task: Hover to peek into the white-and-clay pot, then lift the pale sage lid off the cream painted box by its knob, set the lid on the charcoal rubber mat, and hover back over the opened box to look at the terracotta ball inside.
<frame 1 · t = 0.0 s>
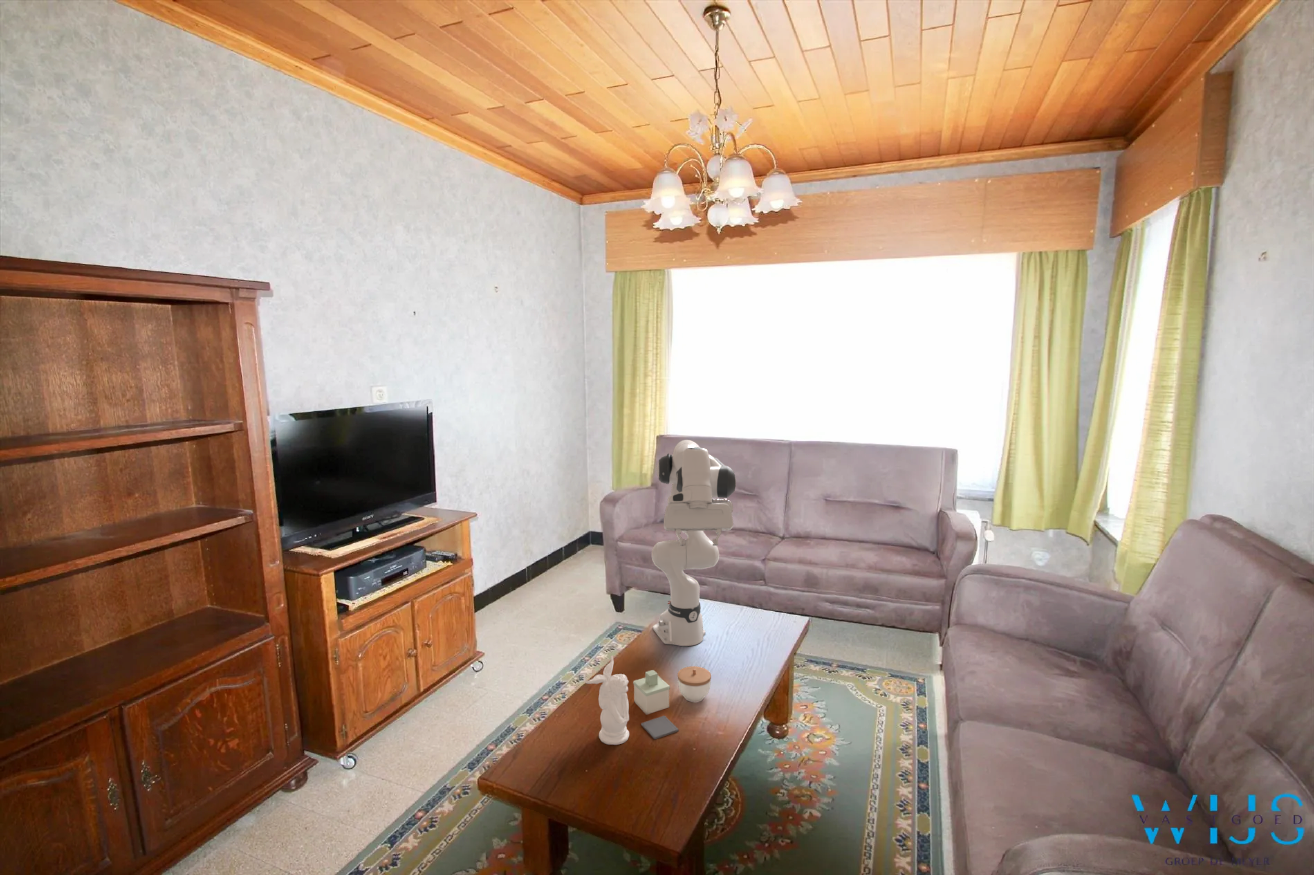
hand: (698, 545, 175), 54 cm above the table, tool tilted 30°, fingers open, 8 cm apart
lid: (651, 686, 191), point 6 cm above the table, touching cream box
cream box: (651, 704, 192), on the table
lidded jar: (694, 697, 196), on the table
cherub figurine: (607, 737, 175), on the table
mat: (659, 728, 179), on the table
ball: (651, 698, 191), point 2 cm above the table, touching cream box
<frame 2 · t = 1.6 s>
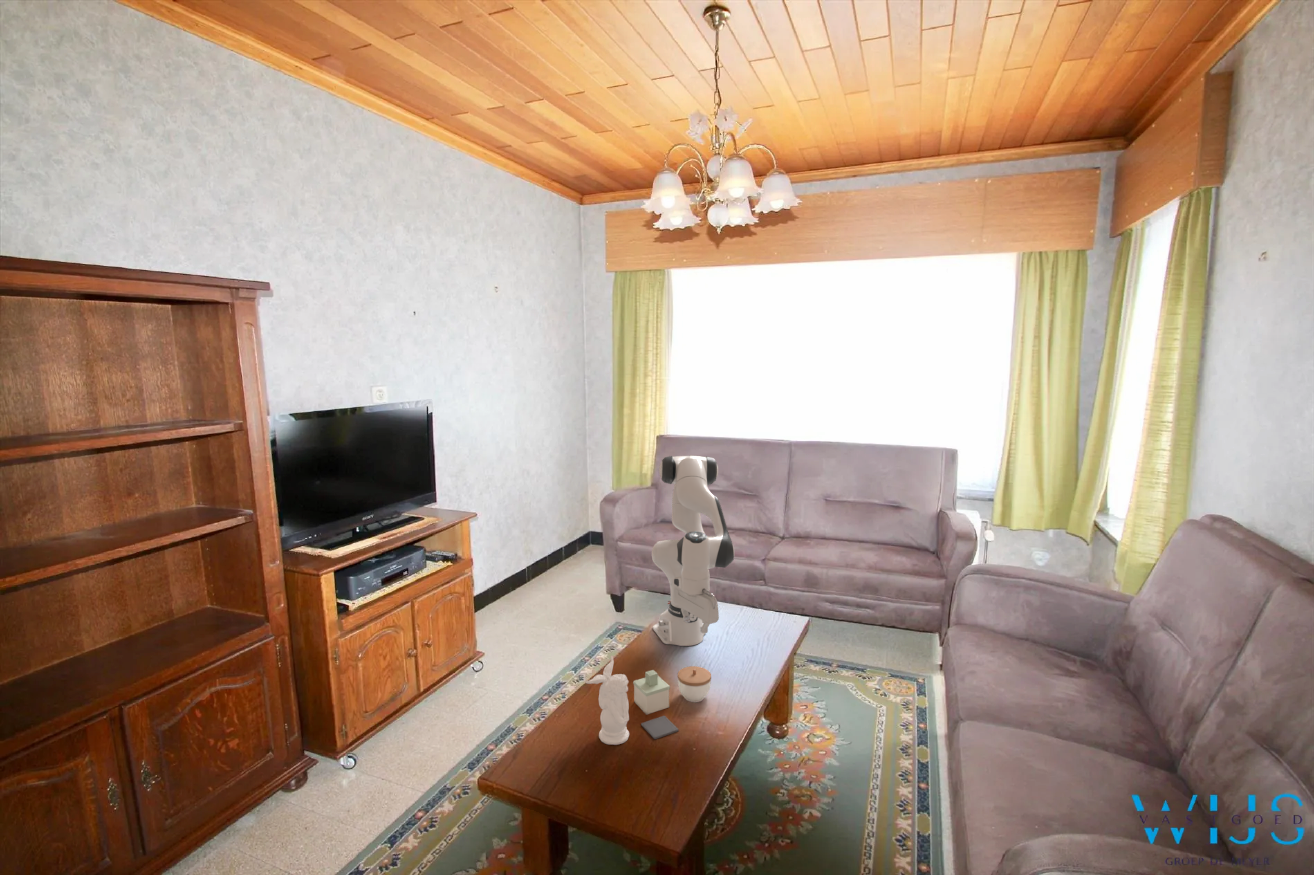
hand: (695, 627, 192), 24 cm above the table, tool pointing down, fingers open, 8 cm apart
nothing on the table moved.
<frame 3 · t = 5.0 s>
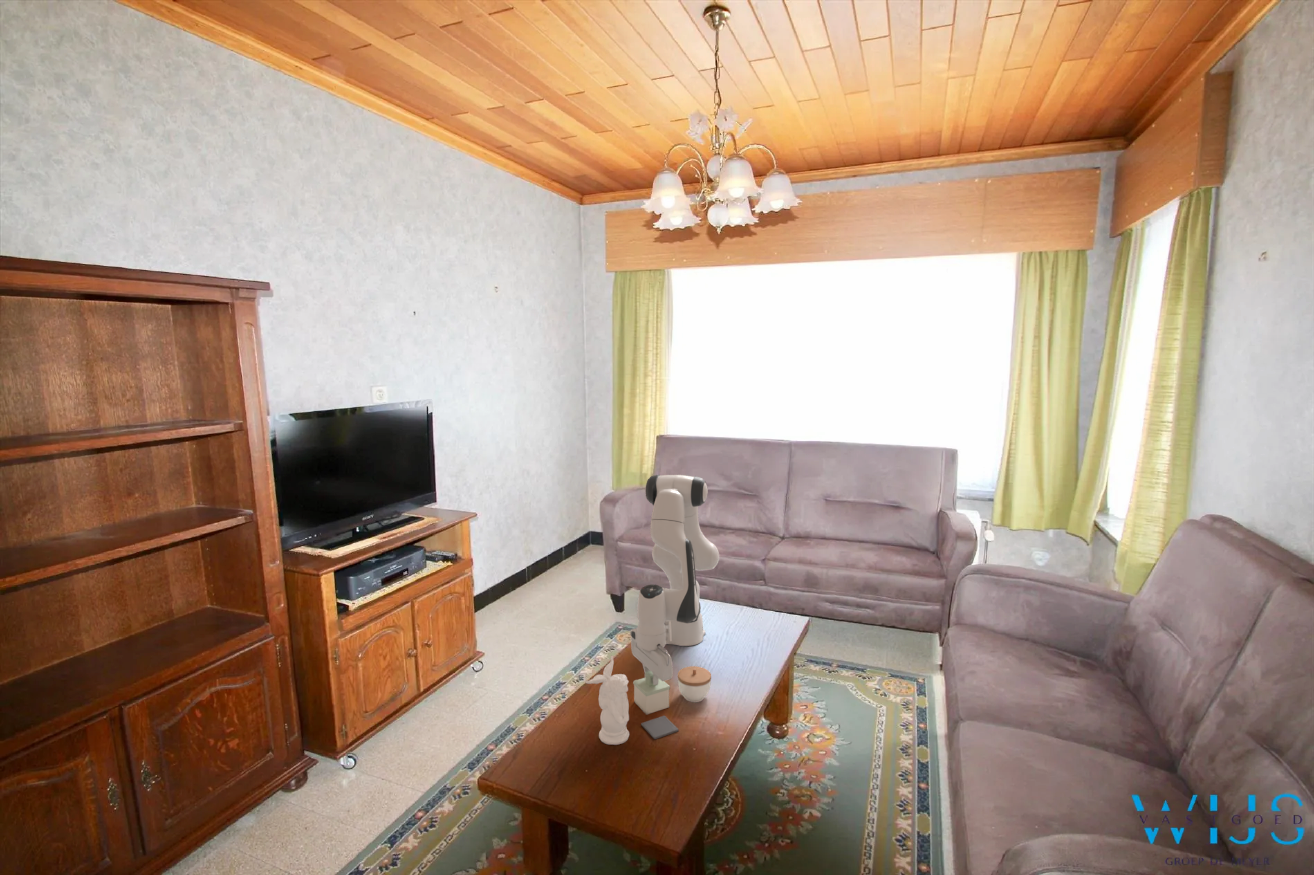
hand: (651, 680, 191), 8 cm above the table, tool pointing down, fingers closed on lid, 3 cm apart
lid: (651, 686, 191), point 6 cm above the table, touching cream box, gripper
everything else where it was.
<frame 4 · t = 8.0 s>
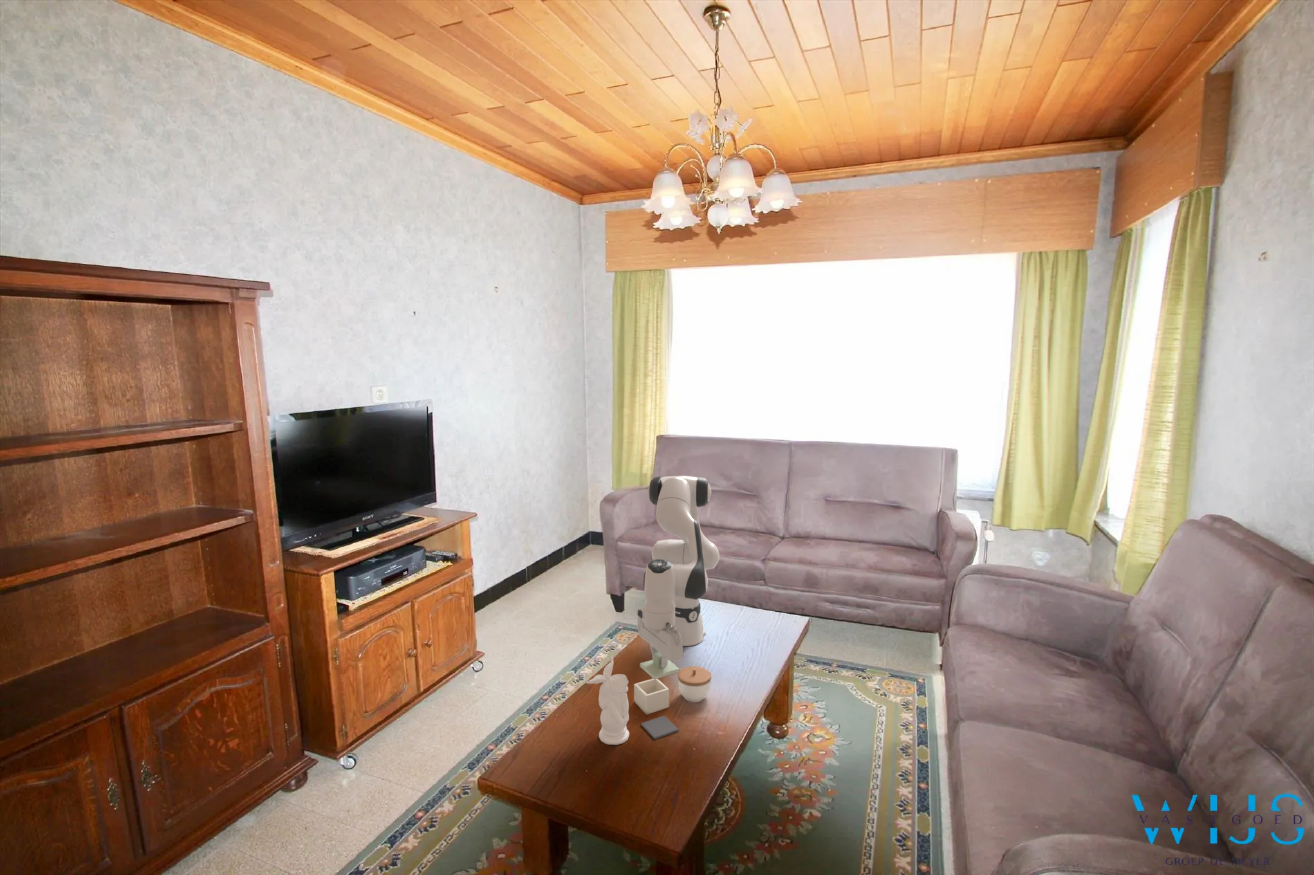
hand: (659, 663, 177), 20 cm above the table, tool pointing down, fingers closed on lid, 3 cm apart
lid: (659, 669, 177), point 18 cm above the table, touching gripper
everything else where it was.
when the fingers open (4 cm above the table, at t = 11.0 s): lid drops 2 cm, resting on mat.
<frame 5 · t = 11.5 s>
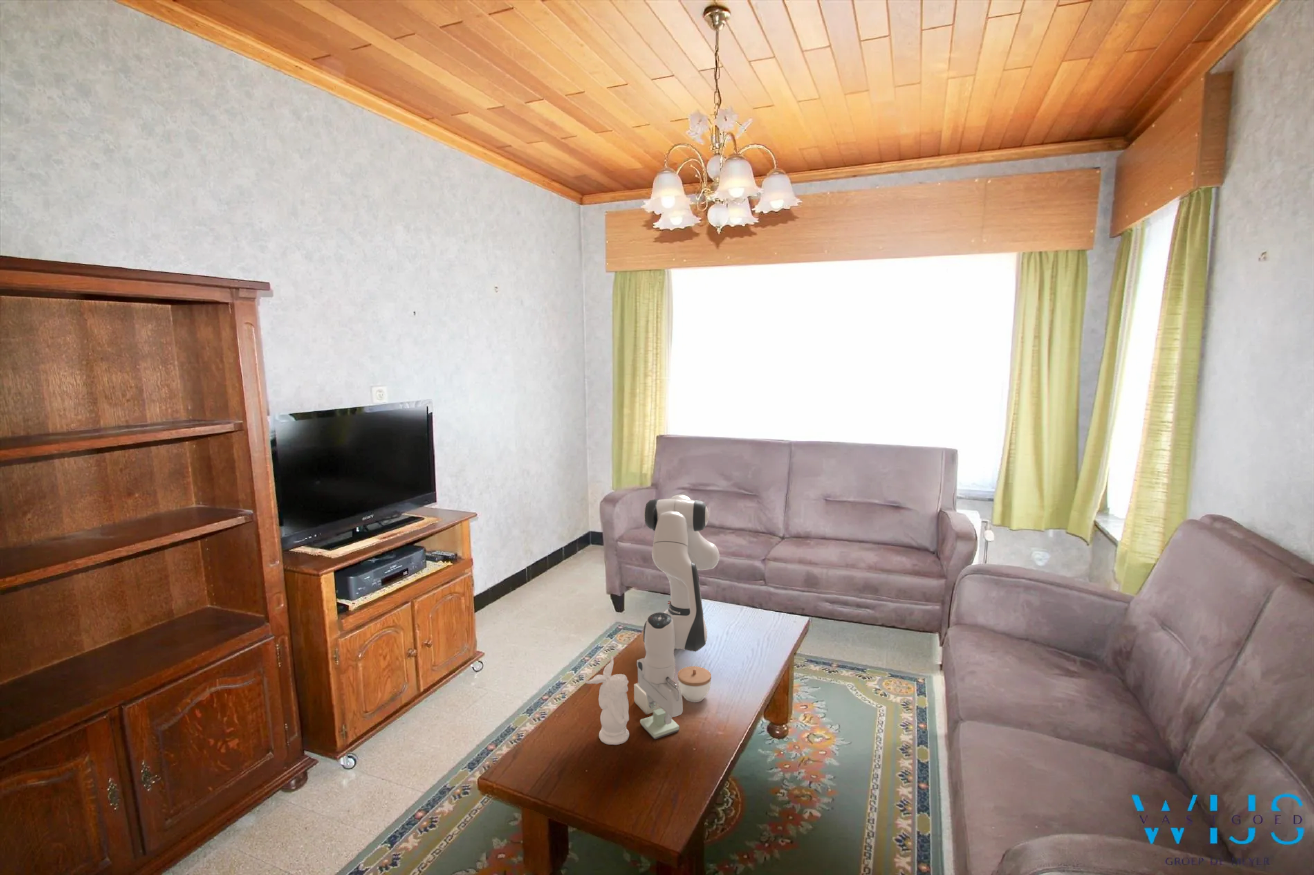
hand: (659, 715, 179), 4 cm above the table, tool pointing down, fingers open, 8 cm apart
lid: (659, 726, 179), point 1 cm above the table, touching mat
everything else where it was.
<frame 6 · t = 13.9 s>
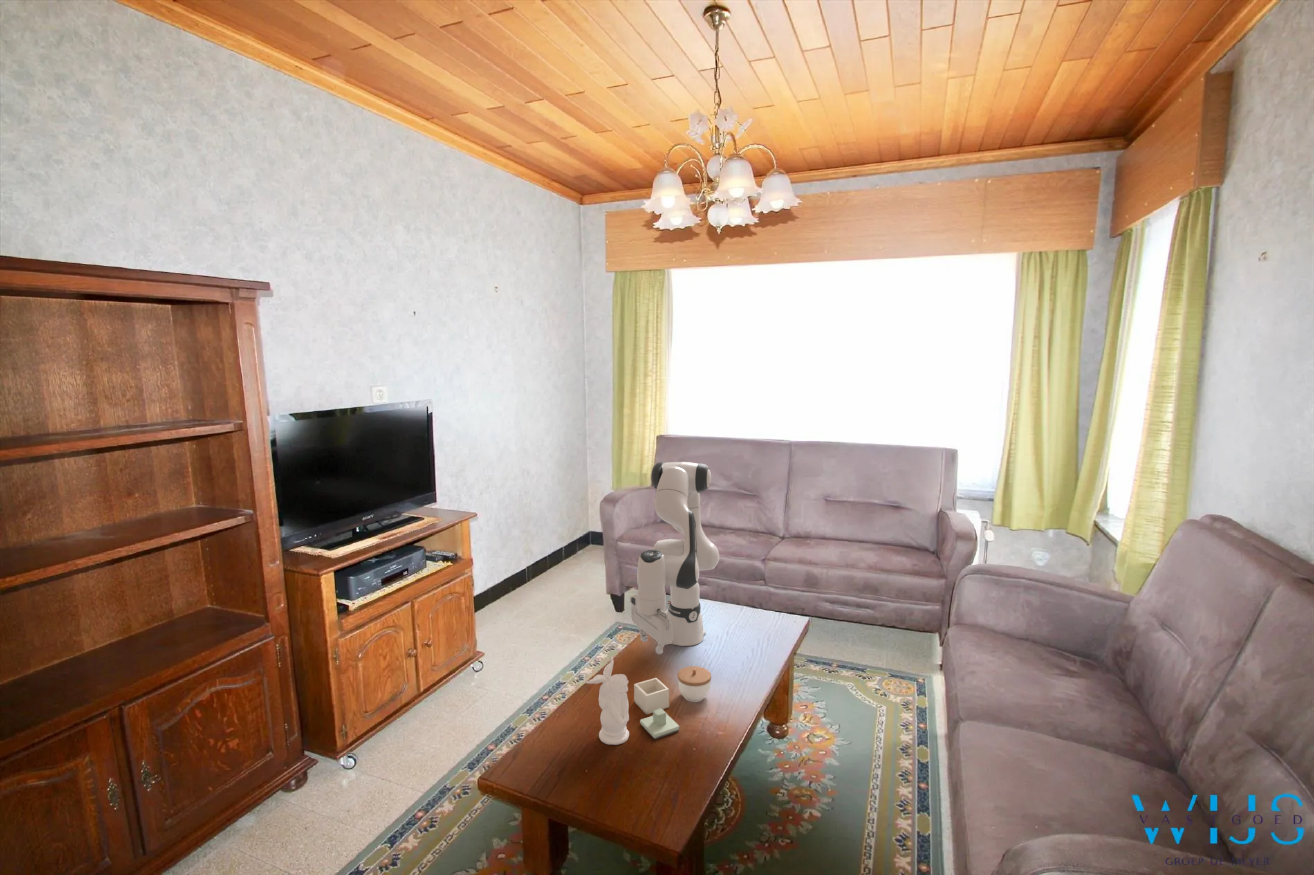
hand: (651, 646, 189), 19 cm above the table, tool pointing down, fingers open, 8 cm apart
nothing on the table moved.
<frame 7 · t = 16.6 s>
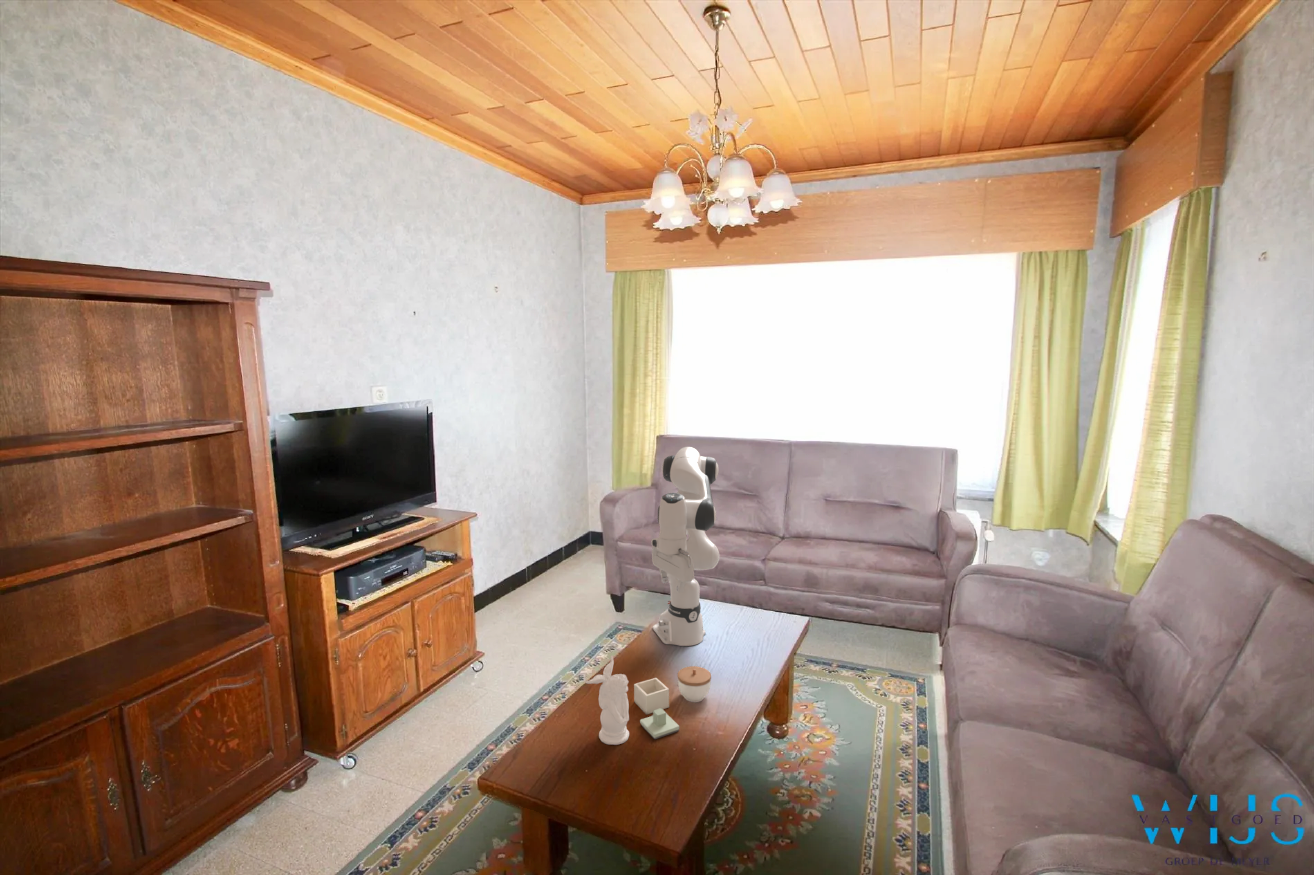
hand: (672, 587, 196), 35 cm above the table, tool pointing down, fingers open, 8 cm apart
nothing on the table moved.
at the end: lid inside the target area on the mat (0.1 cm from its centre), point 0.6 cm above the mat's base; lid touching mat; the gripper is holding nothing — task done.
